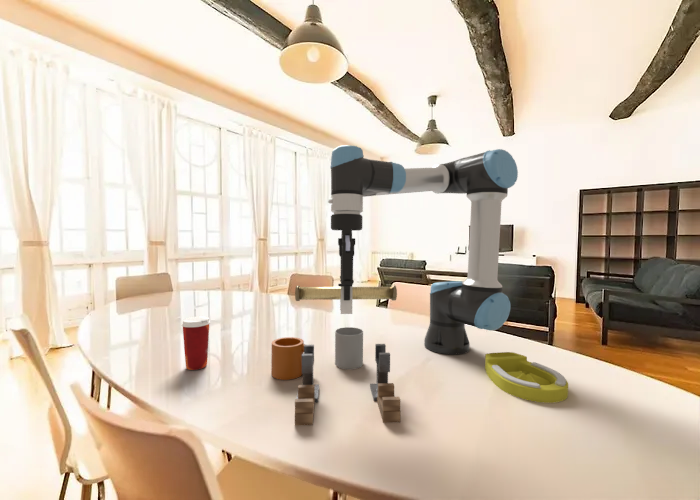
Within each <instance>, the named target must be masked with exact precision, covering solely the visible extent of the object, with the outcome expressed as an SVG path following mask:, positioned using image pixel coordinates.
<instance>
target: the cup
mask: <svg viewBox="0 0 700 500" xmlns="http://www.w3.org/2000/svg"><path fill="white" fill-rule="evenodd" d="M334 333H335V334H334V339H335V340H334V343H335V344H334V365H335V366H336V367H337V368H338V369H342V370H356V369H359V368H361V367H363V364H364V330H363V329H362V328H359V327H350V326H348V327H347V326H345V327H340V328H337V329H335V331H334Z"/></svg>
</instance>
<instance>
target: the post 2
mask: <svg viewBox="0 0 700 500" xmlns="http://www.w3.org/2000/svg"><path fill="white" fill-rule="evenodd" d="M386 347H387V345H386V343H375V351H374V357H375V359H374V361H375V363H376V383H369V387H370V391H371V392H370V393H371V396H372V399H373V401H374V402H377V393H378V383H389V373H390V372H391V352H386V350H387V348H386ZM394 397H396V396H395V395H394Z"/></svg>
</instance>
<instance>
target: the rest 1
mask: <svg viewBox="0 0 700 500" xmlns="http://www.w3.org/2000/svg"><path fill="white" fill-rule="evenodd" d="M315 385H316V384H313V385H303V384H298V386H297V392H298V399H296V398H295V400H294V426H295V427H296V426H297V427H298V426H313V425H314V424H313V423H314V415H315V405H316V404H315V403H316V402H315Z"/></svg>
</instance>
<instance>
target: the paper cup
mask: <svg viewBox="0 0 700 500" xmlns="http://www.w3.org/2000/svg"><path fill="white" fill-rule="evenodd" d="M210 324H211V320H210V317H209V316H203V315H202V316H200V315H199V316H192V317H191V316H190V317H187V318H185V319H183V320H182V323H181V327H182V336H183V348H184V361H185V368H186V370H189V371H197V370H201V369H203V368H206V367H207V366H208V358H209V357H208V354H209V335H210Z"/></svg>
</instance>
